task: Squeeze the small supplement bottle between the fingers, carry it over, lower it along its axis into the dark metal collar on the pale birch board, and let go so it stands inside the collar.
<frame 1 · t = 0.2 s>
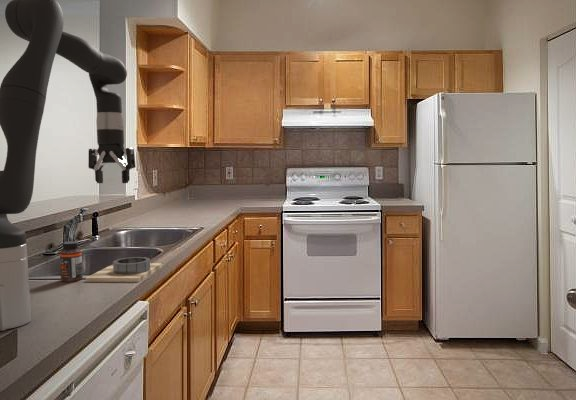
hand: (112, 183, 150), 28 cm above the worktop, tool pointing down, fingers open, 8 cm apart
base board: (132, 273, 155), on the worktop
supplement bottle: (72, 280, 149), on the worktop
collar: (132, 265, 155), on the base board, point 3 cm above the worktop
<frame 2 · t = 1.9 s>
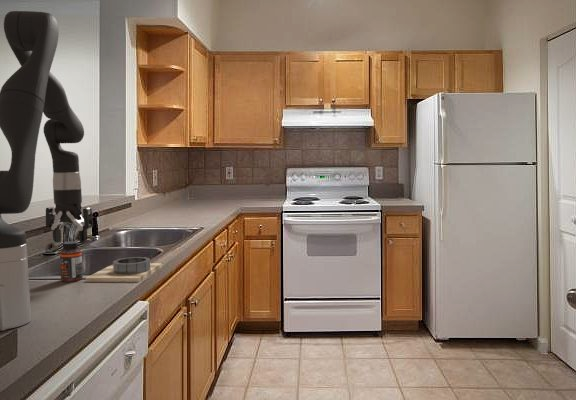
hand: (70, 242, 148), 11 cm above the worktop, tool pointing down, fingers open, 8 cm apart
nothing on the worktop moved.
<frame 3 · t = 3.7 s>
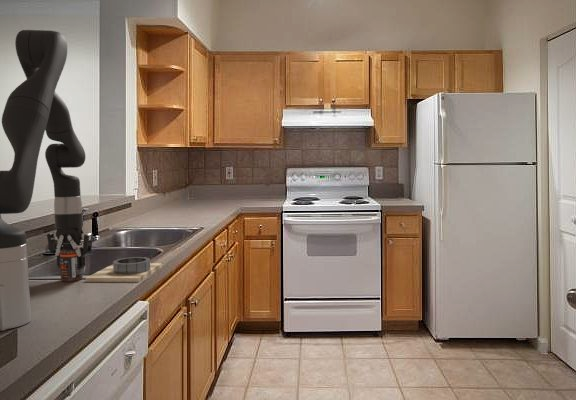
hand: (71, 267, 148), 4 cm above the worktop, tool pointing down, fingers closed on supplement bottle, 6 cm apart
supplement bottle: (72, 280, 149), on the worktop, touching gripper
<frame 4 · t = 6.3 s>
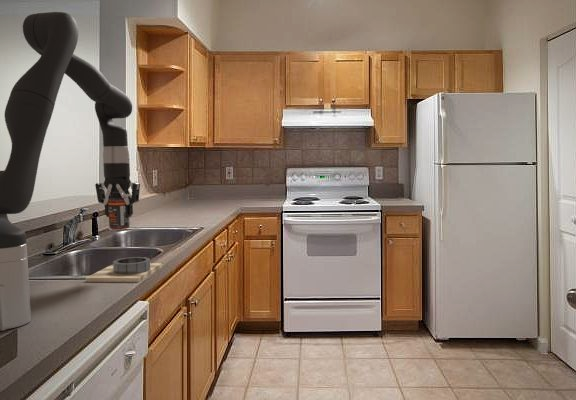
hand: (119, 216, 153), 18 cm above the worktop, tool pointing down, fingers closed on supplement bottle, 6 cm apart
supplement bottle: (119, 228, 153), point 14 cm above the worktop, touching gripper
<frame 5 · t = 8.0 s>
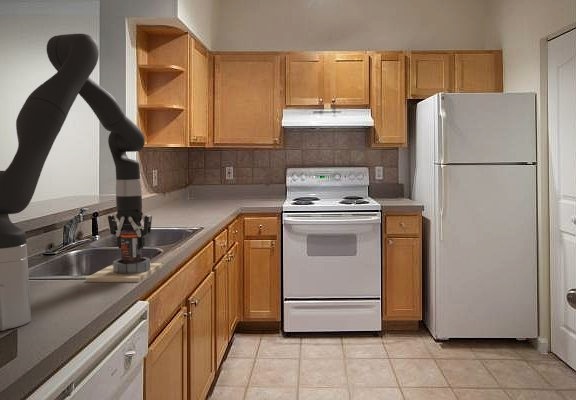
hand: (131, 248, 154), 8 cm above the worktop, tool pointing down, fingers closed on supplement bottle, 6 cm apart
supplement bottle: (131, 260, 155), point 4 cm above the worktop, touching gripper
when the fingers open (6 cm above the worktop, at t = 9.4 s): supplement bottle stays where it is, resting on base board.
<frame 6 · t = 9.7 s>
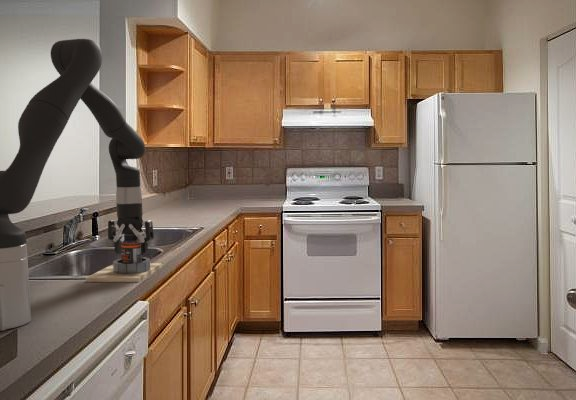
hand: (131, 253, 155), 6 cm above the worktop, tool pointing down, fingers open, 8 cm apart
supplement bottle: (132, 270, 155), point 1 cm above the worktop, touching base board
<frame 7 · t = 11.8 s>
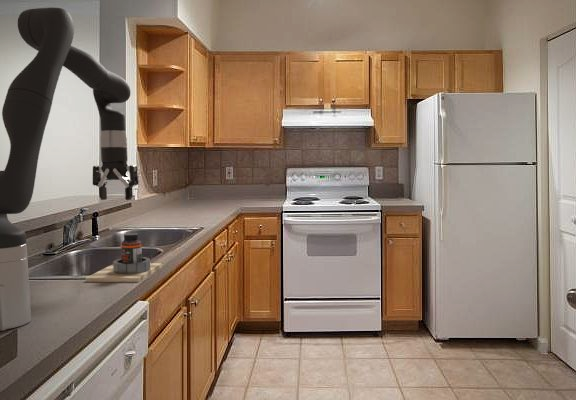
hand: (116, 199, 153), 23 cm above the worktop, tool pointing down, fingers open, 8 cm apart
nothing on the worktop moved.
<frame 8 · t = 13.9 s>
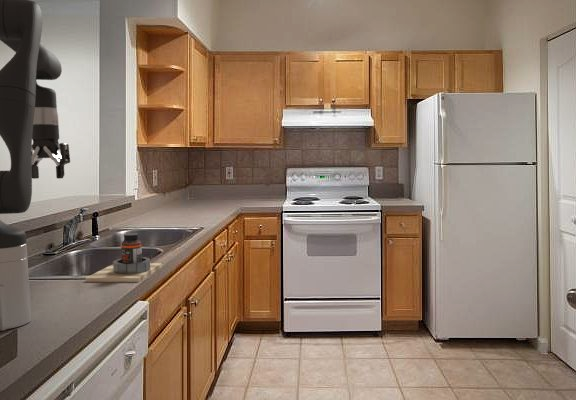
hand: (47, 178, 150), 30 cm above the worktop, tool pointing down, fingers open, 8 cm apart
nothing on the worktop moved.
at the end: supplement bottle 0.1 cm off-centre on the collar, point 1.0 cm above the collar's base; supplement bottle tilted 0°; the gripper is holding nothing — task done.
